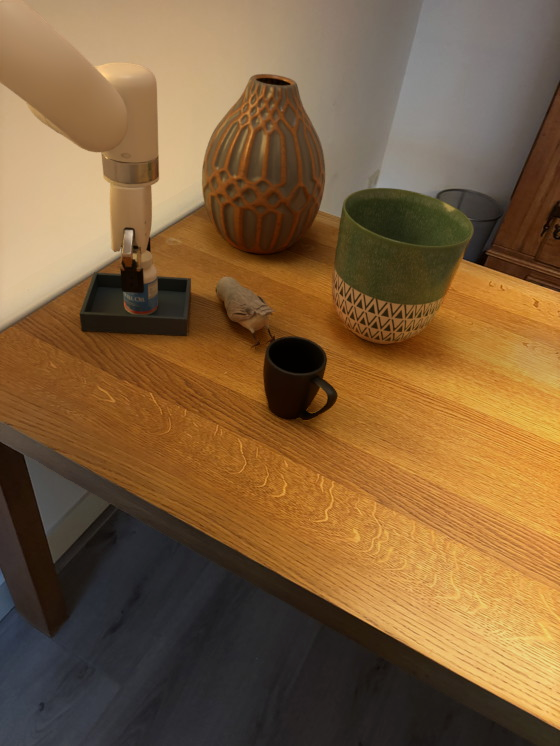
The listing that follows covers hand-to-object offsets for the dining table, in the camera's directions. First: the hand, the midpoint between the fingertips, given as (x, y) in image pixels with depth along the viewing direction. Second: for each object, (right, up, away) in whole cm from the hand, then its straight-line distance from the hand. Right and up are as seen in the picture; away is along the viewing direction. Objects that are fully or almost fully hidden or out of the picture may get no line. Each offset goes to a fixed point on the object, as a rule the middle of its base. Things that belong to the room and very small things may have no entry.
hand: (137, 274), depth 86 cm
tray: (-1, -5, +5) cm, 7 cm away
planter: (+39, -8, +9) cm, 41 cm away
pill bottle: (0, -5, +4) cm, 7 cm away
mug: (+25, -22, -9) cm, 34 cm away
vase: (+18, +13, +29) cm, 37 cm away
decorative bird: (+16, -7, +6) cm, 19 cm away
